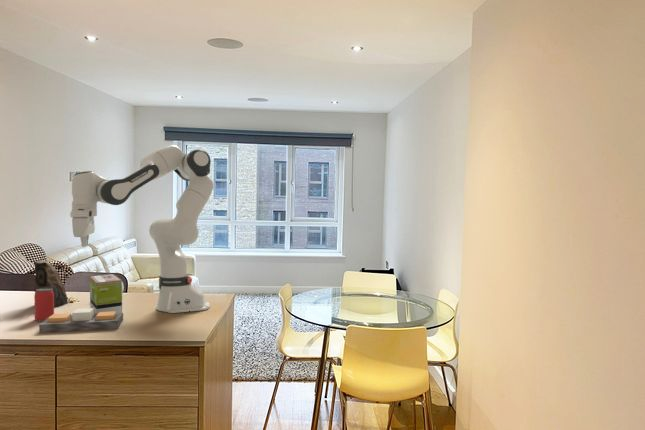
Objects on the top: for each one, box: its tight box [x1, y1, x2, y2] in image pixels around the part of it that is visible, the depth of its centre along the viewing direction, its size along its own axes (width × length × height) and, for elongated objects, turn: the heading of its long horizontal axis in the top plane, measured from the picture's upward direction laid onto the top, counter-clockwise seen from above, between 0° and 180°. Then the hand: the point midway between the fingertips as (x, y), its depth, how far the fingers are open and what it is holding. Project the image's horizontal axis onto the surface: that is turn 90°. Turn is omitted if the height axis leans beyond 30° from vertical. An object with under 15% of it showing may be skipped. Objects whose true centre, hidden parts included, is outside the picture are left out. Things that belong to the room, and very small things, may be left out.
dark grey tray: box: [38, 312, 124, 334], centre depth 175 cm, size 26×12×3 cm, turn 104°
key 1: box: [48, 312, 72, 322], centre depth 173 cm, size 6×6×3 cm
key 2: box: [96, 311, 116, 320], centre depth 177 cm, size 6×6×3 cm
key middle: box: [71, 307, 94, 321], centre depth 175 cm, size 6×6×3 cm
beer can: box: [33, 288, 55, 322], centre depth 183 cm, size 7×7×12 cm
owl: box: [33, 259, 69, 309], centre depth 204 cm, size 13×13×20 cm
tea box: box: [89, 273, 123, 314], centre depth 195 cm, size 15×10×15 cm
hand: (84, 246), depth 186 cm, fingers closed
